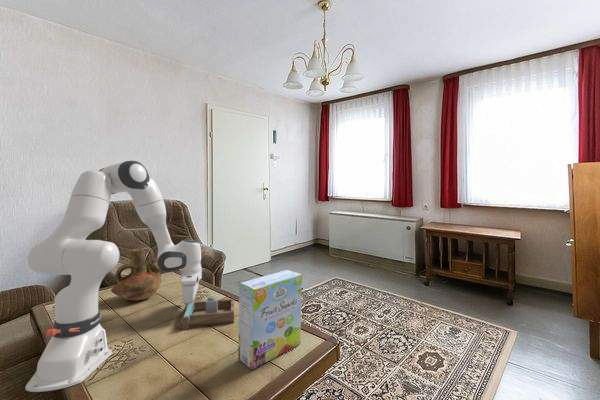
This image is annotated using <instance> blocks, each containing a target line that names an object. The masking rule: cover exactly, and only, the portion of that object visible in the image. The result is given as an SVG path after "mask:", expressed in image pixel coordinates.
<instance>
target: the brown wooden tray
mask: <svg viewBox="0 0 600 400" xmlns="http://www.w3.org/2000/svg"><path fill="white" fill-rule="evenodd" d="M188 305H189V303H188V304H187V305H186V308H185V309H184V310H185V311H184V313H183V315H182V317H181V320H180V322H179V324H178V330H184V331H185V330H189V329H191V328H195V327H205V326H216V325H225V324H234V323H235V298H226V299H218V312H216V313H206V300H202V301H201V300H200V298H199V297H198V298H195V299H194V306H193V312H192V315H190V320H189V317H185V318H184V315H185V312H186V310H187V308H188Z"/></svg>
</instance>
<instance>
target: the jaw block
mask: <svg viewBox="0 0 600 400" xmlns="http://www.w3.org/2000/svg"><path fill="white" fill-rule="evenodd" d="M218 298H219V297H218V296H213V295H212V296H208V297H206V300H205V301H206V313H216V312H218V300H219V299H218Z"/></svg>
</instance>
